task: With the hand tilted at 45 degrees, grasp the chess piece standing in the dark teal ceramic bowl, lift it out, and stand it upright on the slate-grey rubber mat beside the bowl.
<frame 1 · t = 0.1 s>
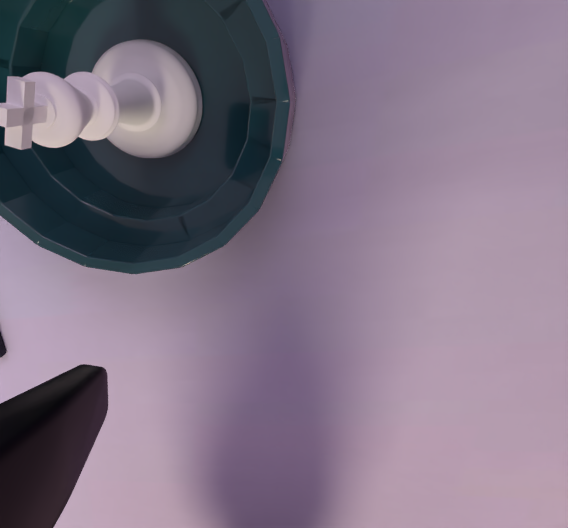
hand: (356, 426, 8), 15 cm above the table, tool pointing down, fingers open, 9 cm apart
bowl: (150, 101, 20), on the table
chess piece: (149, 101, 20), resting on bowl
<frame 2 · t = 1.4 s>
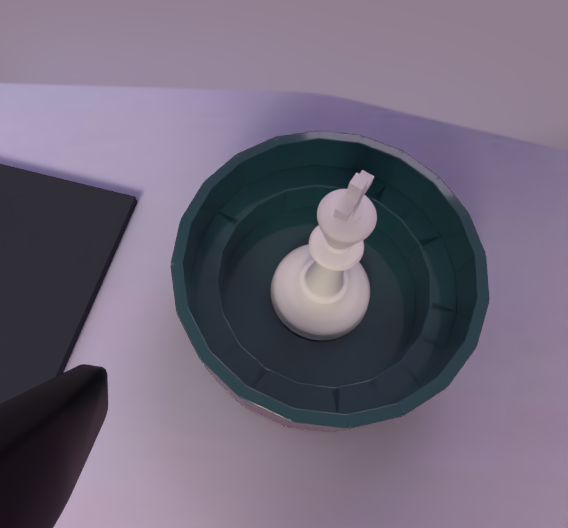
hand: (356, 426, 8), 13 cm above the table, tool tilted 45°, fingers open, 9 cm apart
bowl: (319, 293, 23), on the table
chess piece: (319, 293, 22), resting on bowl
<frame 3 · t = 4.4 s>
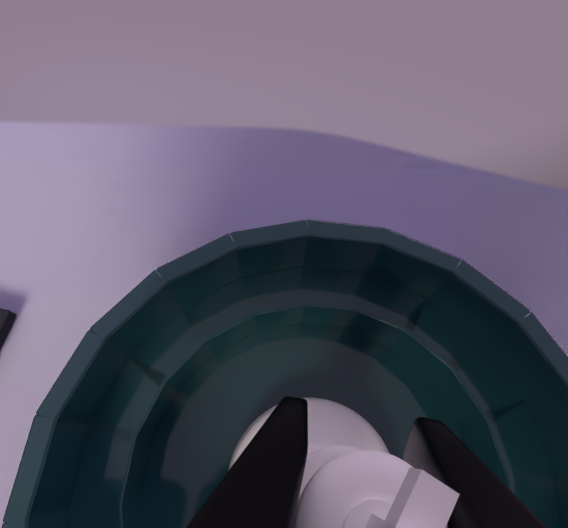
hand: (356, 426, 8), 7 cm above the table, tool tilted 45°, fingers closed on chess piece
bowl: (310, 484, 13), on the table
chess piece: (310, 484, 13), resting on bowl, touching gripper
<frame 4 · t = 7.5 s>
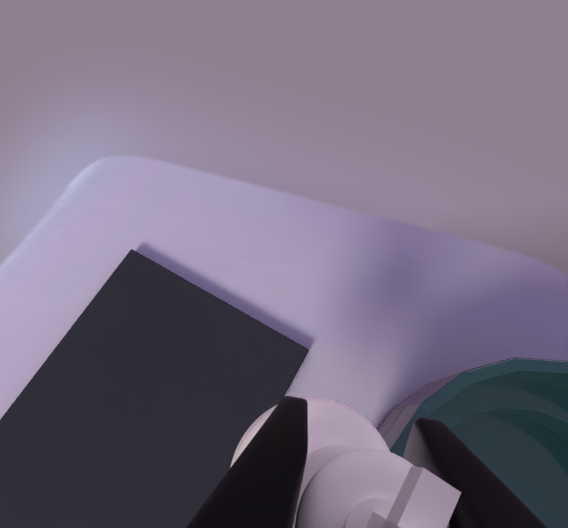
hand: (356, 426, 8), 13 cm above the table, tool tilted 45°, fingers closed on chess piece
mat: (116, 456, 19), on the table
chess piece: (311, 484, 13), point 6 cm above the table, touching gripper
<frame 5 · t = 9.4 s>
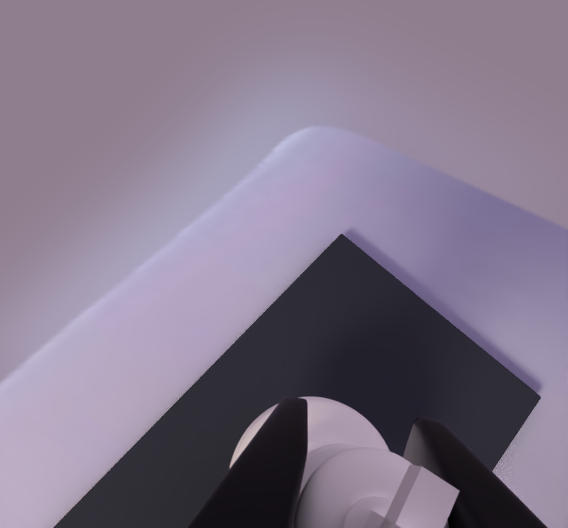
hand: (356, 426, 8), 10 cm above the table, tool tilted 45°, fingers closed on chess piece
mat: (303, 468, 16), on the table
chess piece: (311, 483, 13), point 3 cm above the table, touching gripper
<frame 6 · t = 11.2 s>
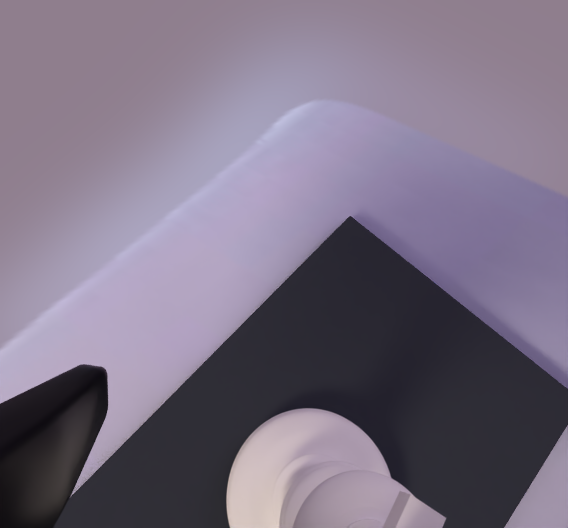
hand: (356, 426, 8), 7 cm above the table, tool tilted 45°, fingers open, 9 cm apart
mat: (308, 484, 14), on the table
chess piece: (309, 494, 13), resting on mat
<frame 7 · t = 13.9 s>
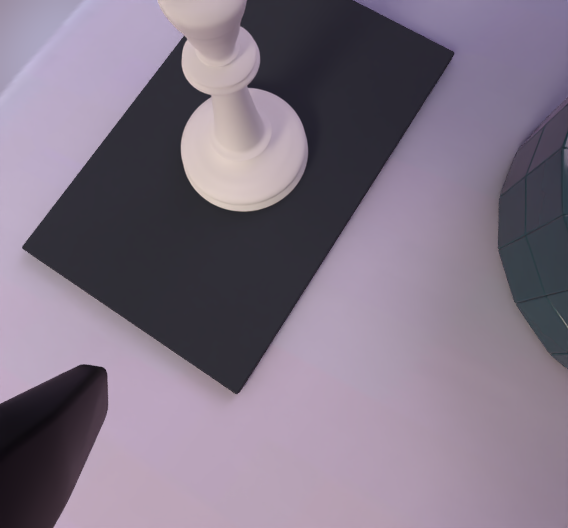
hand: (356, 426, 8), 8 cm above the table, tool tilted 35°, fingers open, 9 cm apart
mat: (246, 152, 18), on the table
chess piece: (245, 154, 18), resting on mat
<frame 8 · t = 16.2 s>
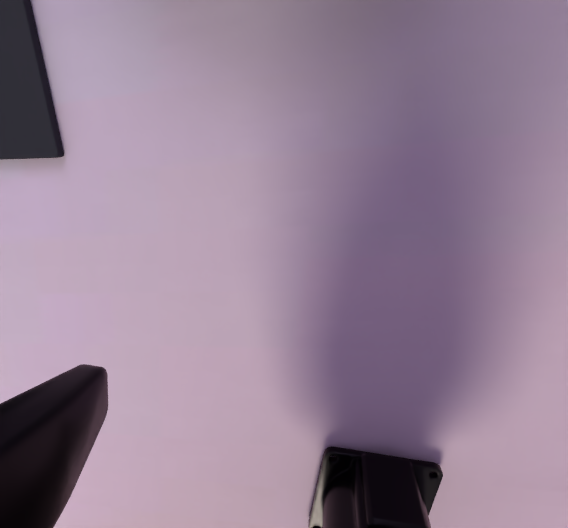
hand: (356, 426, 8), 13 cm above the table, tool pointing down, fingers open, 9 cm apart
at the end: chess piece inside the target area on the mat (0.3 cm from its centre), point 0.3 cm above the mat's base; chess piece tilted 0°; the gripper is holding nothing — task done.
